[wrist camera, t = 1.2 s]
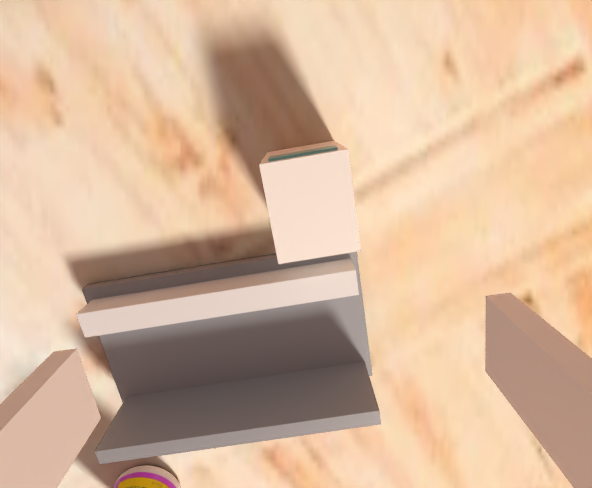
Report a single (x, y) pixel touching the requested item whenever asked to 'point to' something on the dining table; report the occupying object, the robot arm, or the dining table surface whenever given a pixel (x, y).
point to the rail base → (232, 354)
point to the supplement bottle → (146, 478)
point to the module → (310, 201)
